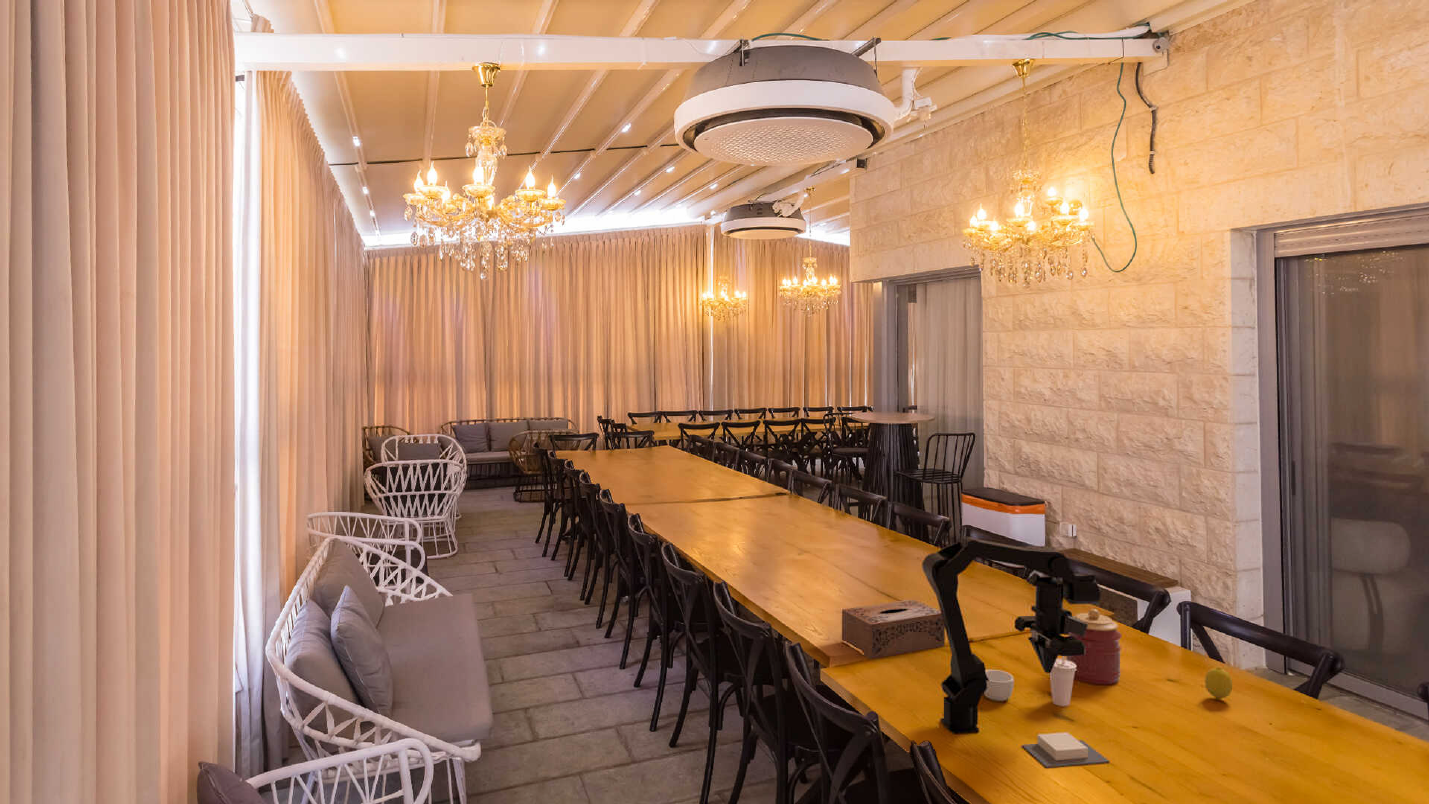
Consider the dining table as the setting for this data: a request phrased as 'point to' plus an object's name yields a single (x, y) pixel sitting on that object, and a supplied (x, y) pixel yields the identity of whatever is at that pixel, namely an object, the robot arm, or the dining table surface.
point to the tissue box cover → (893, 628)
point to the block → (1062, 746)
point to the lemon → (1218, 683)
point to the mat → (1051, 762)
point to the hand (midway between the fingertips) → (1047, 672)
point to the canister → (1098, 650)
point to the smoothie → (1062, 681)
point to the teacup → (999, 685)
